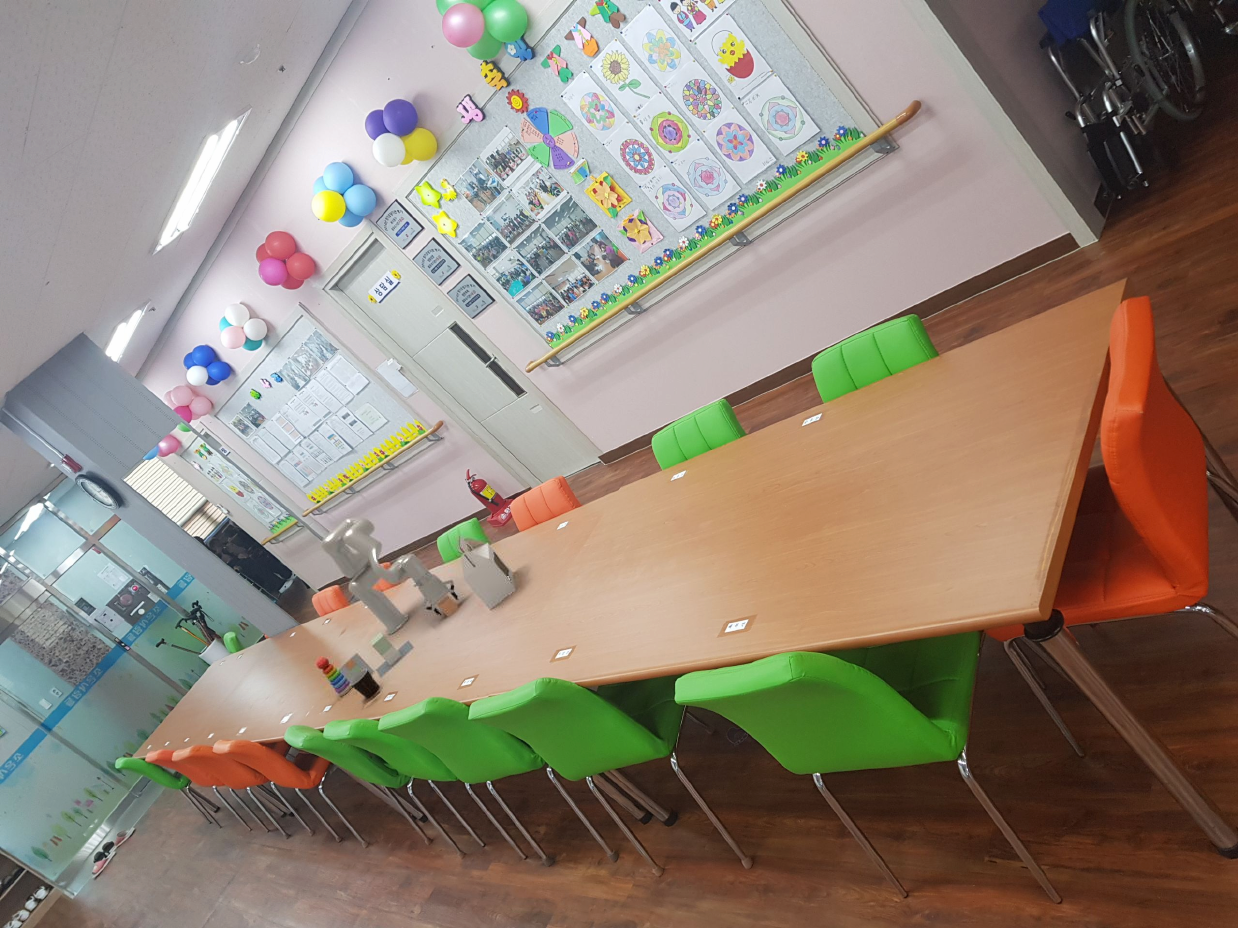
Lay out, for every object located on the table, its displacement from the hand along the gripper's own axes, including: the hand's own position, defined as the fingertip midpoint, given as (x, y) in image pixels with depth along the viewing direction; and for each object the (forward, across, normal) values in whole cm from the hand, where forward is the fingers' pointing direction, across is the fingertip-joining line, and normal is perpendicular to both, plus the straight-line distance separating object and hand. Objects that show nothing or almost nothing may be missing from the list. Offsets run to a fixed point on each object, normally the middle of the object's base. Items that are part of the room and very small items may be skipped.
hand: (449, 606), depth 361 cm
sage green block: (-5, -31, 0) cm, 31 cm away
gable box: (+2, +19, -28) cm, 34 cm away
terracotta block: (+2, 0, 0) cm, 2 cm away
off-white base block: (+1, -31, 0) cm, 31 cm away
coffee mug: (+2, -46, -16) cm, 49 cm away
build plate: (+2, -31, 0) cm, 31 cm away
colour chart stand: (+2, -46, +8) cm, 47 cm away
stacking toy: (+2, -55, +18) cm, 58 cm away
